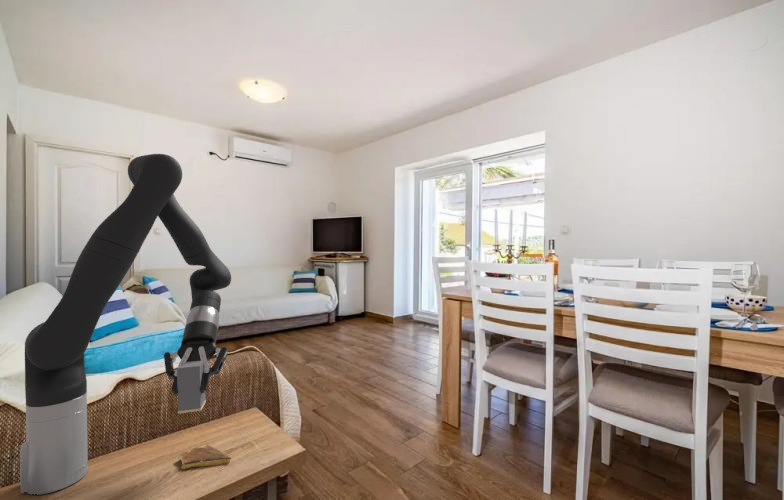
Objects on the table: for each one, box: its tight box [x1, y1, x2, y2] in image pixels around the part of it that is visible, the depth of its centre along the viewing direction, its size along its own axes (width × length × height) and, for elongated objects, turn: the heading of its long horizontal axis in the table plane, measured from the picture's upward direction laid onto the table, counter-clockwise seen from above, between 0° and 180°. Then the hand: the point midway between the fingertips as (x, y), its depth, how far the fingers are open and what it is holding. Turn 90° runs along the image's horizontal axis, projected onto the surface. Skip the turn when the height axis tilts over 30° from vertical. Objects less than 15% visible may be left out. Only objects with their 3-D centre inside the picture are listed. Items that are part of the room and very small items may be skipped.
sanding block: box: [176, 360, 207, 414], centre depth 80 cm, size 5×5×10 cm
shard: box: [177, 444, 232, 470], centre depth 79 cm, size 11×8×2 cm
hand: (189, 392), depth 78 cm, fingers closed on sanding block, 4 cm apart
